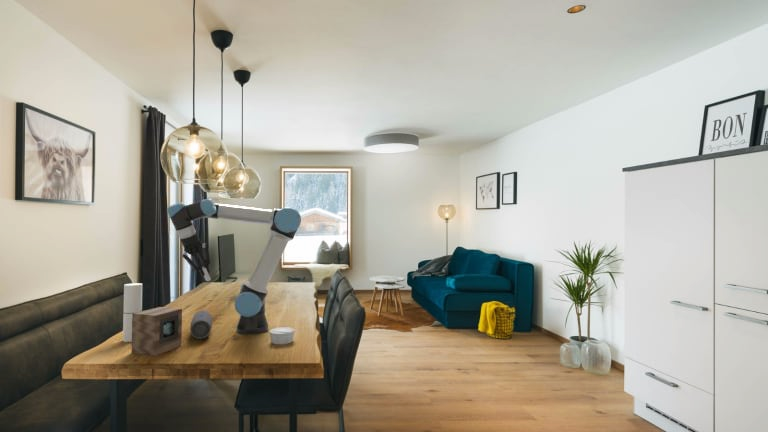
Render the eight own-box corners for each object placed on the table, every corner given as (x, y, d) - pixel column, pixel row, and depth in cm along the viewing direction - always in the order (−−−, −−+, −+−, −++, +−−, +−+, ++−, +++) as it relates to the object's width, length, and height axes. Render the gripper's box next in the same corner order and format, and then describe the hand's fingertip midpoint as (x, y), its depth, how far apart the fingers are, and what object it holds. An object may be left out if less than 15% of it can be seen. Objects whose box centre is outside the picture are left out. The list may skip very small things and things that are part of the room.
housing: (181, 345, 179) (182, 308, 179) (155, 355, 165) (156, 315, 165) (158, 343, 182) (159, 306, 182) (131, 352, 169) (132, 313, 169)
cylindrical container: (122, 342, 183) (123, 285, 183) (123, 338, 189) (124, 283, 189) (140, 340, 186) (141, 285, 186) (141, 336, 192) (142, 282, 193)
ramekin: (270, 346, 180) (270, 334, 180) (267, 339, 190) (267, 328, 190) (296, 344, 184) (296, 332, 184) (292, 337, 194) (292, 326, 194)
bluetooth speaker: (191, 330, 205) (192, 309, 205) (212, 328, 209) (212, 308, 209) (188, 342, 184) (189, 320, 184) (211, 340, 187) (211, 318, 188)
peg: (173, 333, 174) (173, 321, 175) (164, 336, 170) (164, 324, 170) (150, 331, 178) (151, 319, 178) (141, 334, 173) (141, 322, 173)
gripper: (197, 229, 198) (217, 272, 204) (171, 241, 189) (192, 286, 195) (204, 229, 192) (224, 274, 199) (177, 242, 184) (199, 288, 190)
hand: (208, 280), depth 197 cm, fingers closed
